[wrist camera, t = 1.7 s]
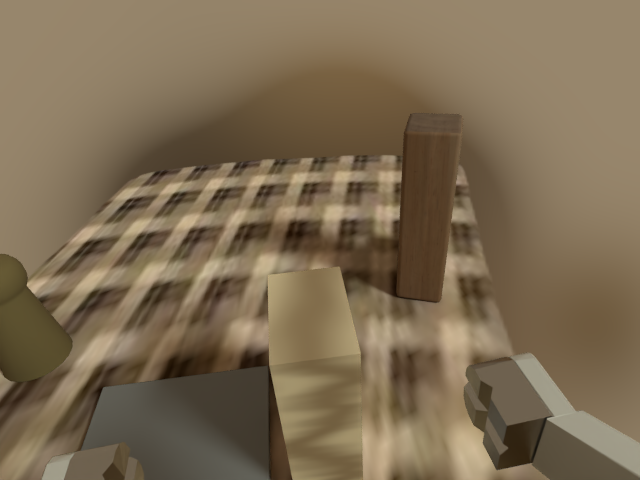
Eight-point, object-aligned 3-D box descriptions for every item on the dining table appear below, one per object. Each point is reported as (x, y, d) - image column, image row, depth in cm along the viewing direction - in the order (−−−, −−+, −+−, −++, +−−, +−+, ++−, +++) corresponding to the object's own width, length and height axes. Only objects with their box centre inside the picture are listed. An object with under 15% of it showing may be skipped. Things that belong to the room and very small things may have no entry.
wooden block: (405, 247, 51) (414, 95, 41) (444, 252, 50) (464, 96, 40) (395, 298, 44) (403, 130, 34) (440, 304, 43) (462, 132, 33)
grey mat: (21, 638, 24) (14, 634, 23) (106, 393, 37) (103, 387, 37) (272, 598, 25) (270, 592, 24) (268, 371, 38) (267, 365, 37)
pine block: (296, 501, 29) (269, 365, 21) (291, 409, 35) (267, 274, 27) (362, 491, 29) (360, 353, 21) (346, 401, 35) (339, 266, 27)
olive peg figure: (77, 360, 40) (24, 268, 34) (4, 394, 38) (-69, 301, 31) (67, 323, 45) (18, 235, 38) (0, 351, 42) (-64, 262, 36)
